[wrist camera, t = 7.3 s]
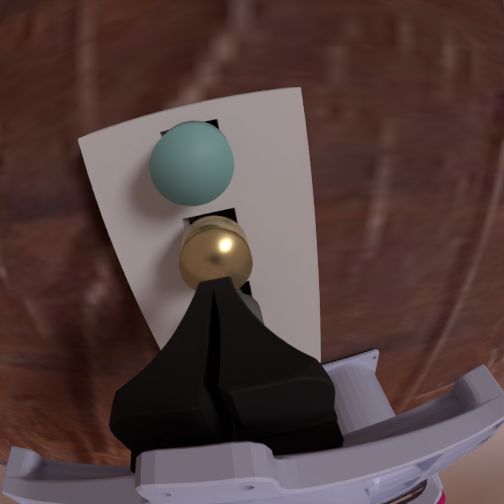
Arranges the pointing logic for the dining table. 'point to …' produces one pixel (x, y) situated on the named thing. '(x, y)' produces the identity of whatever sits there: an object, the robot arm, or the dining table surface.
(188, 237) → the brass dome cap
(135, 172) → the console
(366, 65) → the dining table surface
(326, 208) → the dining table surface
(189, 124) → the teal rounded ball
